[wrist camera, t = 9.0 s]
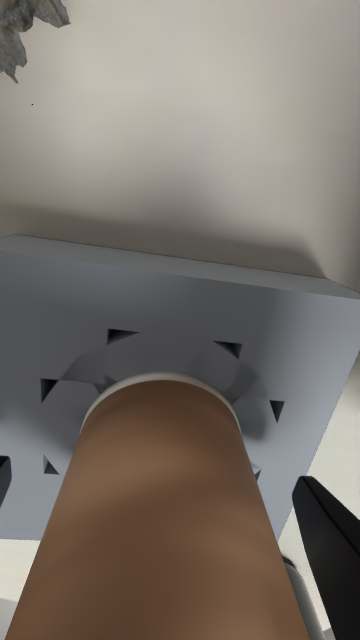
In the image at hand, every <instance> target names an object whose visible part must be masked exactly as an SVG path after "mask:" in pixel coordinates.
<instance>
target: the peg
mask: <svg viewBox="0 0 360 640" xmlns="http://www.w3.org/2000/svg"><path fill="white" fill-rule="evenodd" d="M5 640H310V639H309V636H308V633H307V630H306V627H305V624H304V621H303V618H302V615H301V612H300V609H299V606H298V603H297V600H296V597H295V594H294V591H293V588H292V585H291V582H290V579H289V576H288V573H287V570H286V567H285V564H284V561H283V558H282V555H281V552H280V549H279V546H278V543H277V540H276V537H275V534H274V531H273V528H272V525H271V522H270V519H269V516H268V514H267V511H266V508H265V505H264V502H263V499H262V496H261V493H260V490H259V487H258V484H257V481H256V478H255V475H254V472H253V469H252V466H251V463H250V460H249V457H248V454H247V451H246V448H245V445H244V442H243V439H242V436H241V429H240V426H239V422H238V419H237V416H236V413H235V411H234V409H233V407H232V405H231V404H230V402H229V401H228V400H227V398H226V397H225V396H224V395H223V394H222V393H221V392H220V391H219V390H217V389H216V388H215V387H213V386H212V385H210V384H209V383H207V382H205V381H203V380H201V379H198V378H196V377H194V376H190V375H186V374H182V373H176V372H164V371H159V372H148V373H142V374H138V375H134V376H131V377H128V378H126V379H123V380H121V381H119V382H117V383H115V384H114V385H112V386H110V387H109V388H107V389H106V390H105V391H104V392H102V393H101V394H100V395H99V396H98V397H97V398H96V399H95V400H94V402H93V403H92V405H91V406H90V408H89V409H88V411H87V414H86V416H85V418H84V421H83V424H82V427H81V430H80V435H79V439H78V442H77V444H76V447H75V450H74V452H73V455H72V458H71V461H70V463H69V466H68V469H67V472H66V474H65V477H64V480H63V482H62V485H61V488H60V491H59V493H58V496H57V499H56V501H55V504H54V507H53V510H52V512H51V515H50V518H49V520H48V523H47V526H46V529H45V531H44V534H43V537H42V539H41V542H40V545H39V548H38V550H37V553H36V556H35V559H34V561H33V564H32V567H31V569H30V572H29V575H28V578H27V580H26V583H25V586H24V588H23V591H22V594H21V597H20V599H19V602H18V605H17V608H16V610H15V613H14V616H13V618H12V621H11V624H10V627H9V629H8V632H7V635H6V638H5Z"/></svg>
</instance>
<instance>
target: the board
mask: <svg viewBox="0 0 360 640" xmlns="http://www.w3.org/2000/svg"><path fill="white" fill-rule="evenodd" d="M359 351H360V293H358V292H356V291H353V290H351V289H349V288H347V287H344V286H342V285H340V284H338V283H336V282H333V281H331V280H329V279H324V278H317V277H310V276H303V275H296V274H289V273H282V272H275V271H268V270H261V269H254V268H247V267H240V266H233V265H226V264H219V263H212V262H205V261H198V260H192V259H185V258H178V257H171V256H164V255H157V254H150V253H143V252H136V251H129V250H122V249H115V248H108V247H101V246H94V245H87V244H80V243H73V242H66V241H59V240H52V239H45V238H38V237H31V236H24V235H17V234H15V235H10V236H5V237H0V455H4V456H9V457H10V460H11V470H12V480H11V483H10V486H9V489H8V491H7V493H6V496H5V498H4V501H3V503H2V506H1V508H0V539H17V540H41V539H42V537H43V534H44V531H45V529H46V526H47V523H48V520H49V518H50V515H51V512H52V510H53V507H54V504H55V501H56V499H57V496H58V493H59V491H60V488H61V485H62V482H63V480H64V477H65V474H66V472H67V469H68V466H69V463H70V461H71V458H72V455H73V452H74V450H75V447H76V444H77V442H78V439H79V435H80V430H81V427H82V424H83V421H84V418H85V416H86V414H87V411H88V409H89V408H90V406H91V405H92V403H93V402H94V400H95V399H96V398H97V397H98V396H99V395H100V394H101V393H102V392H104V391H105V390H106V389H107V388H109V387H110V386H112V385H114V384H115V383H117V382H119V381H121V380H123V379H126V378H128V377H131V376H134V375H138V374H142V373H148V372H159V371H164V372H176V373H182V374H186V375H190V376H194V377H196V378H198V379H201V380H203V381H205V382H207V383H209V384H210V385H212V386H213V387H215V388H216V389H217V390H219V391H220V392H221V393H222V394H223V395H224V396H225V397H226V398H227V400H228V401H229V402H230V404H231V405H232V407H233V409H234V411H235V413H236V416H237V419H238V422H239V426H240V429H241V436H242V439H243V442H244V445H245V448H246V451H247V454H248V457H249V460H250V463H251V466H252V469H253V472H254V475H255V478H256V481H257V484H258V487H259V490H260V493H261V496H262V499H263V502H264V505H265V508H266V511H267V514H268V516H269V519H270V522H271V525H272V528H273V531H274V534H275V537H276V540H277V542H278V540H279V537H280V535H281V533H282V530H283V528H284V526H285V523H286V521H287V519H288V516H289V514H290V512H291V509H292V507H293V502H292V492H293V489H294V487H295V484H296V482H297V480H298V478H299V477H300V476H306V474H307V472H308V470H309V467H310V465H311V463H312V460H313V458H314V456H315V453H316V451H317V449H318V446H319V444H320V442H321V439H322V437H323V435H324V432H325V430H326V428H327V425H328V423H329V421H330V418H331V416H332V414H333V411H334V409H335V407H336V405H337V402H338V400H339V398H340V395H341V393H342V391H343V388H344V386H345V384H346V381H347V379H348V377H349V374H350V372H351V370H352V367H353V365H354V363H355V360H356V358H357V356H358V353H359Z"/></svg>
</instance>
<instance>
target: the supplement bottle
mask: <svg viewBox="0 0 360 640" xmlns="http://www.w3.org/2000/svg"><path fill="white" fill-rule="evenodd" d="M284 564H285V567H286V570H287V573H288V576H289V579H290V582H291V585H292V588H293V591H294V594H295V597H296V600H297V603H298V606H299V609H300V612H301V615H302V618H303V621H304V624H305V627H306V630H307V633H308V636H309V639H310V640H325V637H324V634H323V631H322V628H321V626H320V623H319V620H318V617H317V614H316V612H315V609H314V606H313V603H312V601H311V598H310V595H309V593H308V590H307V587H306V585H305V582H304V580H303V578H302V576H301V575H300V573H299V572H298V571H297V570H296V569H295V568H294V567H293V566H291V565H290V564H288V563H286V562H285V561H284Z"/></svg>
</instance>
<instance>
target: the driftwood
mask: <svg viewBox="0 0 360 640" xmlns="http://www.w3.org/2000/svg"><path fill="white" fill-rule="evenodd" d="M33 16H35V17H37V18H39V19H41V20H42V21H44V22H46V23H50V24H51V25H53V26H55V27H57V28H59V27H62V26H65V25H68V24H71V23H70V22H69V18H68V15H67V12H66V7H64V6H63V5H62V4H61V1H60V0H0V73H1V72H2V71H4V70H5V72H6V74H7V75H9V76H10V77H11V78H12V79H13V80H14V81H15V82H16V83H18V81H17V79H16V78H15V76H14V74H15V70H16V67H15V66H17V65H20V66H22V67H24V66H25V64H26V63H27V58H26V53H25V49H24V46H23V44H22V42H21V40H20V37H19V34H18V32H26V31H27V30H29V29H30V28H31V27H32V25H33ZM32 105H33V104H32Z"/></svg>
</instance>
